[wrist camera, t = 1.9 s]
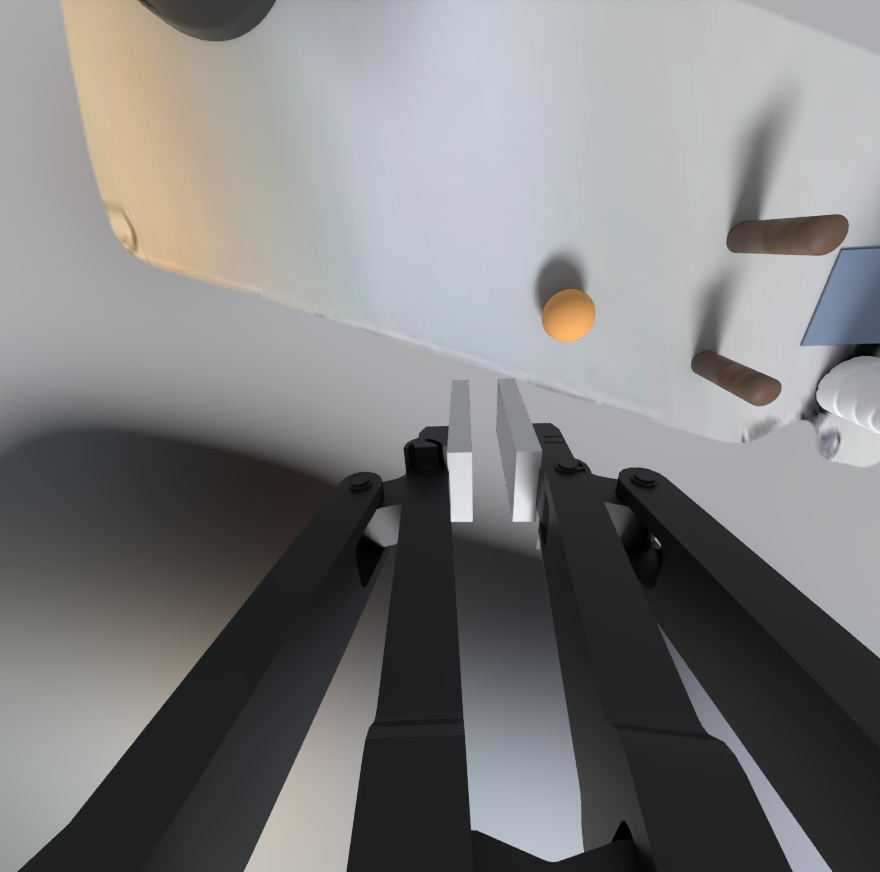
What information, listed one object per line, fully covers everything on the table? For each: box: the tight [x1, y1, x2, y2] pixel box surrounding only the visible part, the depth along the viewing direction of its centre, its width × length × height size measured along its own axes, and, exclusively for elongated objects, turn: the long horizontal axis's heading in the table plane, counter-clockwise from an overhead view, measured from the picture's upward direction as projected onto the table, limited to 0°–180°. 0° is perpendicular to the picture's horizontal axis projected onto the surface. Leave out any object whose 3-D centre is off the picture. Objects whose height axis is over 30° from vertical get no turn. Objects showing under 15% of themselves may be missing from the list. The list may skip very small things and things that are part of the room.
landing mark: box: [800, 248, 880, 346], centre depth 36 cm, size 9×9×1 cm
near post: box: [727, 214, 849, 256], centre depth 30 cm, size 3×3×9 cm
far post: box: [691, 351, 781, 406], centre depth 36 cm, size 3×3×9 cm
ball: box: [542, 289, 595, 342], centre depth 36 cm, size 5×5×5 cm
